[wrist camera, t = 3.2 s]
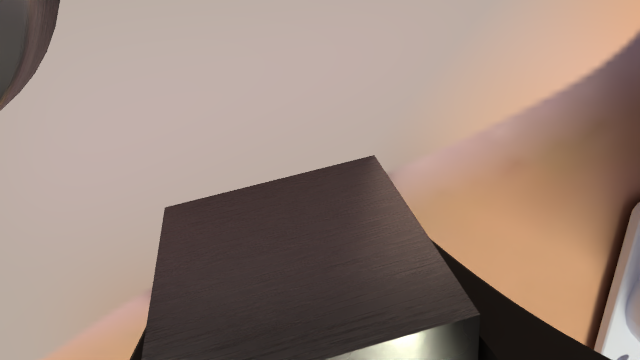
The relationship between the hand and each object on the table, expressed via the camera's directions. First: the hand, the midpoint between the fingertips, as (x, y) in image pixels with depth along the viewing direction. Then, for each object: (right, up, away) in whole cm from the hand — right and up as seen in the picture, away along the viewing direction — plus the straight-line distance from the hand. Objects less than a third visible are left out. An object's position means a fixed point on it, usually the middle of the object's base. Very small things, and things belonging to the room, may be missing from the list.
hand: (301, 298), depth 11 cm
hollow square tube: (0, +1, +1) cm, 1 cm away
